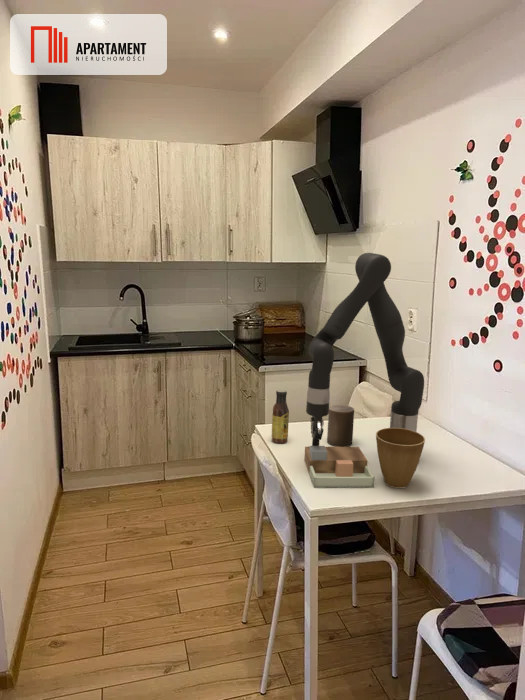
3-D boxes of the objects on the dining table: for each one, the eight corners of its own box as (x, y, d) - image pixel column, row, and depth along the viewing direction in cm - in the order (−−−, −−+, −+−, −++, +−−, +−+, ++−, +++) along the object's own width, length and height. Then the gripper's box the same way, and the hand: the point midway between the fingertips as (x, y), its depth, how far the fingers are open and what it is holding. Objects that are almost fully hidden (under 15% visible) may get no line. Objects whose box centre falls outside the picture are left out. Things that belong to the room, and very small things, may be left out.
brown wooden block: (357, 460, 181) (358, 446, 180) (366, 475, 169) (367, 460, 168) (304, 460, 180) (304, 446, 179) (309, 474, 168) (310, 460, 167)
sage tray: (366, 475, 169) (367, 465, 169) (374, 487, 160) (374, 477, 160) (309, 474, 168) (309, 465, 167) (313, 487, 159) (314, 477, 159)
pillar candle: (354, 447, 193) (356, 409, 190) (327, 446, 193) (330, 408, 190) (350, 438, 202) (352, 401, 199) (325, 437, 202) (327, 400, 200)
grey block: (323, 454, 173) (324, 445, 172) (326, 460, 168) (327, 451, 167) (309, 454, 172) (309, 445, 172) (311, 460, 167) (312, 451, 167)
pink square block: (351, 460, 167) (353, 463, 164) (350, 474, 168) (352, 478, 165) (336, 460, 167) (338, 463, 164) (335, 474, 167) (337, 478, 165)
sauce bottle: (286, 444, 193) (288, 393, 189) (270, 443, 194) (271, 392, 191) (288, 438, 200) (291, 389, 196) (273, 437, 201) (274, 388, 197)
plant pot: (368, 472, 171) (372, 426, 168) (413, 474, 171) (417, 428, 168) (377, 493, 157) (381, 443, 154) (426, 495, 156) (431, 445, 153)
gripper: (333, 406, 164) (329, 457, 168) (326, 394, 177) (323, 442, 181) (309, 405, 164) (306, 456, 167) (304, 394, 177) (301, 441, 180)
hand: (315, 449), depth 174 cm, fingers closed
